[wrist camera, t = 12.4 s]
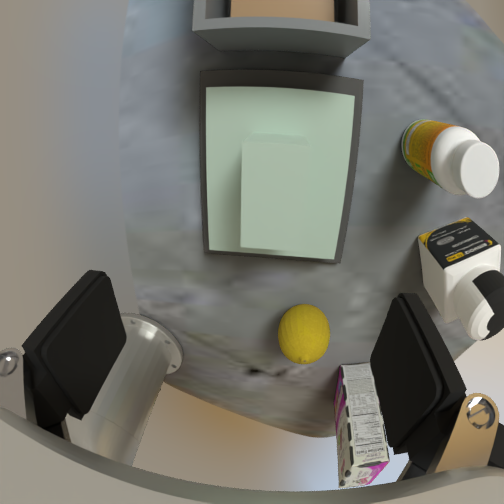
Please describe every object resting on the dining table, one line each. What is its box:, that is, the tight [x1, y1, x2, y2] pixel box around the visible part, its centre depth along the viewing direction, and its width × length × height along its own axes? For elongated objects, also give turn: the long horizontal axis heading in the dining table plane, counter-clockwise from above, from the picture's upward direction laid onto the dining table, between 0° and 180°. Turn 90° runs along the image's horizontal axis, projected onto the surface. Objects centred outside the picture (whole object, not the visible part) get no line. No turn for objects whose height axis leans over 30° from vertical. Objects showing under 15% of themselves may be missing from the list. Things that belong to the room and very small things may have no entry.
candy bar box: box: [334, 362, 390, 488], centre depth 32 cm, size 11×5×16 cm, turn 7°
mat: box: [200, 70, 363, 263], centre depth 25 cm, size 18×14×1 cm
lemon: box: [278, 304, 330, 364], centre depth 29 cm, size 6×6×8 cm
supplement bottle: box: [401, 120, 499, 198], centre depth 18 cm, size 5×5×10 cm
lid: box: [206, 87, 355, 259], centre depth 21 cm, size 15×12×8 cm
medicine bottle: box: [418, 217, 504, 340], centre depth 22 cm, size 7×7×12 cm
